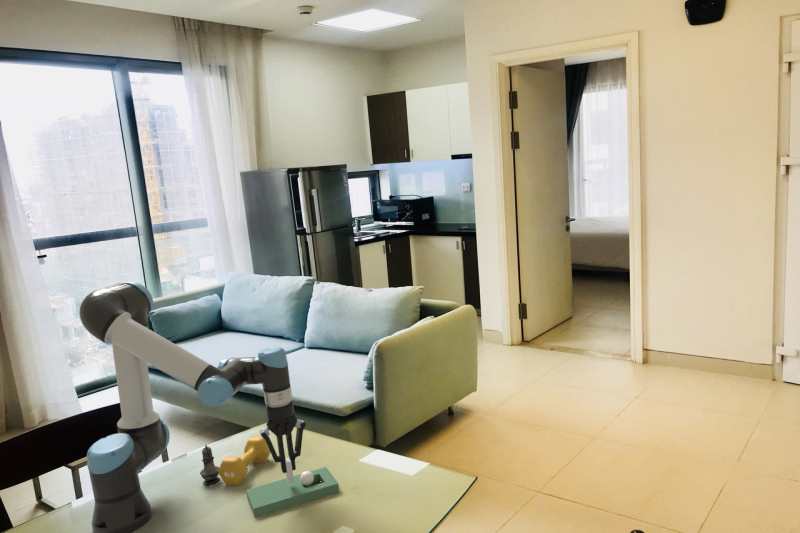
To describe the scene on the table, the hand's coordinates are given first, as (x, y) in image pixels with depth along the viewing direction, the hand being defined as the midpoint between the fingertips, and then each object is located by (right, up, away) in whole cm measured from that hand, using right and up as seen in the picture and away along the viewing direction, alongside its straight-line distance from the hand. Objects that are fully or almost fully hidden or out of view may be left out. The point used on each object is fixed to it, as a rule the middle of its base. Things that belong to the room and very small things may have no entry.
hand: (290, 481), depth 175 cm
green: (+1, -4, +1) cm, 4 cm away
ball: (+4, 0, +2) cm, 5 cm away
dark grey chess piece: (-27, -5, +14) cm, 31 cm away
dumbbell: (-17, -4, +18) cm, 25 cm away
